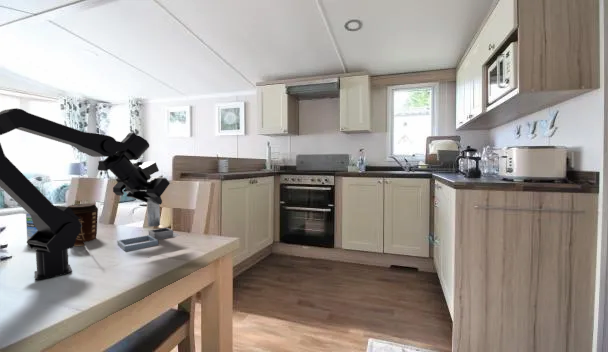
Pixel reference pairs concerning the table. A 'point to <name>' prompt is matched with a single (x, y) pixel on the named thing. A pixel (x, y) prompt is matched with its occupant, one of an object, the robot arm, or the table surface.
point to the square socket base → (162, 233)
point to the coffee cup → (86, 222)
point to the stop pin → (153, 213)
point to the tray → (136, 246)
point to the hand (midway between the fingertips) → (156, 203)
